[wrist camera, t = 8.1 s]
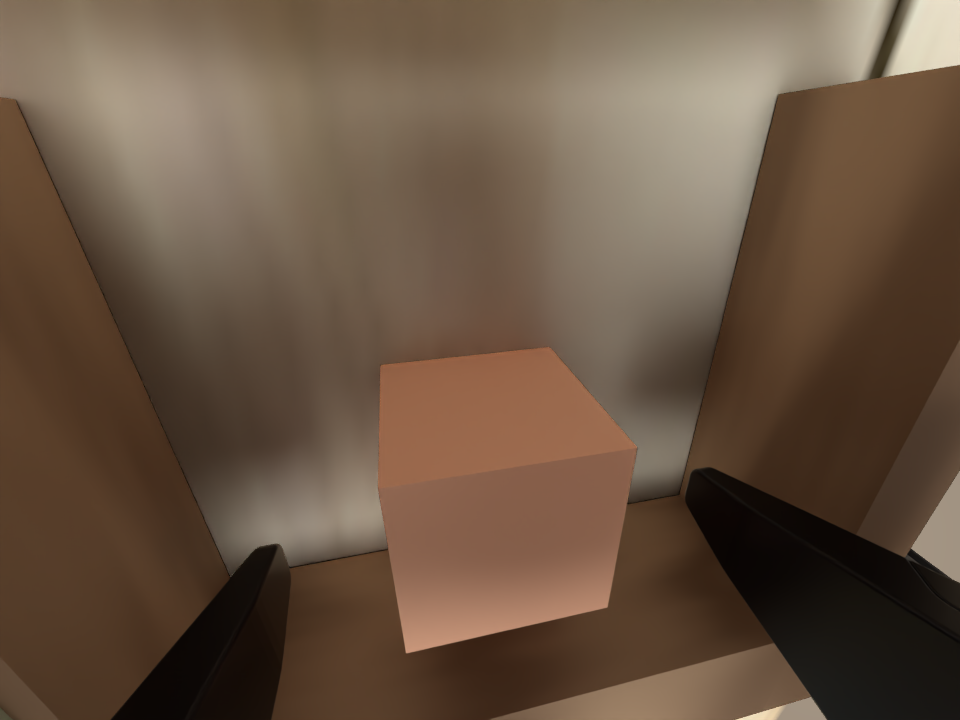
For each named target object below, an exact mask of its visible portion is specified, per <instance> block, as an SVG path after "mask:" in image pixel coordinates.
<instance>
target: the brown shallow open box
mask: <svg viewBox="0 0 960 720" xmlns="http://www.w3.org/2000/svg"><path fill="white" fill-rule="evenodd" d="M703 467H712V468H714V469H717V470H719V471H721V472H723V473H725V474H727V475H729V476H732V477H734V478H736V479H738V480H740V481H742V482H744V483H746V484H749V485H751V486H753V487H755V488H757V489H759V490H761V491H764V492H766V493H768V494H770V495H772V496H774V497H776V498H779V499H781V500H783V501H785V502H787V503H789V504H791V505H794V506H796V507H798V508H800V509H802V510H804V511H806V512H809V513H811V514H813V515H815V516H817V517H819V518H821V519H823V520H826V521H828V522H830V523H832V524H834V525H836V526H838V527H841V528H843V529H845V530H847V531H849V532H851V533H853V534H856V535H858V536H860V537H862V538H864V539H866V540H868V541H871V542H873V543H875V544H877V545H879V546H881V547H883V548H886V549H888V550H890V551H892V552H894V553H896V554H898V555H900V556H903V557H906V555H907V553H908V552H909V550H910V549H911V547H912V545H913V544H914V542H915V541H916V539H917V537H918V536H919V534H920V533H921V531H922V530H923V528H924V526H925V525H926V523H927V522H928V520H929V518H930V517H931V515H932V513H933V512H934V510H935V509H936V507H937V506H938V504H939V502H940V501H941V499H942V498H943V496H944V494H945V493H946V491H947V490H948V488H949V487H950V485H951V483H952V482H953V480H954V479H955V477H956V475H957V474H958V472H959V471H960V65H957V66H951V67H945V68H938V69H932V70H926V71H920V72H914V73H907V74H901V75H895V76H889V77H883V78H877V79H870V80H864V81H858V82H852V83H846V84H839V85H833V86H827V87H821V88H815V89H809V90H802V91H796V92H790V93H784V94H779V96H778V100H777V104H776V108H775V112H774V116H773V120H772V124H771V128H770V132H769V136H768V140H767V144H766V148H765V152H764V156H763V160H762V164H761V168H760V172H759V176H758V180H757V184H756V188H755V192H754V196H753V200H752V204H751V208H750V213H749V217H748V221H747V225H746V229H745V233H744V237H743V241H742V245H741V249H740V253H739V257H738V261H737V265H736V269H735V273H734V277H733V281H732V285H731V289H730V293H729V297H728V301H727V305H726V309H725V313H724V317H723V321H722V325H721V329H720V333H719V337H718V341H717V345H716V349H715V353H714V358H713V362H712V366H711V370H710V374H709V378H708V382H707V386H706V390H705V394H704V398H703V402H702V406H701V410H700V414H699V418H698V422H697V426H696V430H695V434H694V438H693V442H692V446H691V450H690V454H689V458H688V462H687V466H686V470H685V474H684V478H683V482H682V486H681V490H680V494H679V495H676V496H670V497H665V498H660V499H654V500H649V501H644V502H639V503H633V504H628V505H627V506H626V512H625V517H624V522H623V528H622V533H621V538H620V544H619V549H618V554H617V560H616V565H615V570H614V576H613V581H612V586H611V592H610V597H609V602H608V607H607V608H603V609H599V610H594V611H590V612H586V613H581V614H577V615H572V616H568V617H564V618H559V619H555V620H551V621H546V622H542V623H537V624H533V625H529V626H524V627H520V628H515V629H511V630H507V631H502V632H498V633H494V634H489V635H485V636H480V637H476V638H472V639H467V640H463V641H459V642H454V643H450V644H445V645H441V646H437V647H432V648H428V649H424V650H419V651H415V652H410V653H406V650H405V644H404V638H403V632H402V626H401V620H400V614H399V609H398V603H397V597H396V591H395V585H394V579H393V573H392V568H391V562H390V556H389V550H384V551H379V552H374V553H369V554H363V555H358V556H353V557H347V558H342V559H337V560H331V561H326V562H321V563H316V564H310V565H305V566H300V567H294V568H289V569H290V573H291V588H290V597H289V607H288V616H287V626H286V636H285V645H284V655H283V663H282V670H281V675H280V681H279V686H278V690H277V695H276V700H275V705H274V710H273V714H272V719H271V720H736V719H739V718H742V717H746V716H749V715H752V714H756V713H759V712H762V711H766V710H769V709H772V708H776V707H779V706H782V705H786V704H789V703H792V702H796V701H799V700H802V699H806V698H809V697H811V696H810V695H809V693H808V692H807V690H806V689H805V687H804V686H803V684H802V683H801V682H800V680H799V679H798V677H797V676H796V674H795V673H794V671H793V670H792V669H791V667H790V666H789V664H788V663H787V661H786V660H785V658H784V657H783V655H782V654H781V653H780V651H779V650H778V648H777V647H776V645H775V644H774V642H773V641H772V640H771V638H770V637H769V635H768V634H767V632H766V631H765V629H764V628H763V627H762V625H761V624H760V622H759V621H758V619H757V618H756V616H755V615H754V614H753V612H752V611H751V609H750V608H749V606H748V605H747V603H746V602H745V601H744V599H743V598H742V596H741V595H740V593H739V592H738V590H737V589H736V588H735V586H734V585H733V583H732V582H731V580H730V579H729V577H728V576H727V574H726V573H725V571H724V570H723V568H722V567H721V565H720V563H719V562H718V560H717V558H716V557H715V555H714V553H713V551H712V550H711V548H710V546H709V544H708V542H707V541H706V539H705V537H704V535H703V534H702V532H701V530H700V528H699V527H698V525H697V523H696V521H695V520H694V518H693V516H692V514H691V512H690V511H689V509H688V507H687V505H686V502H685V492H686V488H687V484H688V480H689V476H690V473H691V471H692V470H694V469H697V468H703ZM229 579H230V577H229V575H228V572H227V570H226V568H225V566H224V563H223V561H222V559H221V557H220V554H219V552H218V550H217V548H216V546H215V543H214V541H213V539H212V537H211V534H210V532H209V530H208V528H207V526H206V523H205V521H204V519H203V517H202V514H201V512H200V510H199V508H198V506H197V503H196V501H195V499H194V497H193V494H192V492H191V490H190V488H189V485H188V483H187V481H186V479H185V477H184V474H183V472H182V470H181V468H180V465H179V463H178V461H177V459H176V457H175V454H174V452H173V450H172V448H171V445H170V443H169V441H168V439H167V437H166V434H165V432H164V430H163V428H162V425H161V423H160V421H159V419H158V416H157V414H156V412H155V410H154V408H153V405H152V403H151V401H150V399H149V396H148V394H147V392H146V390H145V388H144V385H143V383H142V381H141V379H140V376H139V374H138V372H137V370H136V368H135V365H134V363H133V361H132V359H131V356H130V354H129V352H128V350H127V347H126V345H125V343H124V341H123V339H122V336H121V334H120V332H119V330H118V327H117V325H116V323H115V321H114V319H113V316H112V314H111V312H110V310H109V307H108V305H107V303H106V301H105V299H104V296H103V294H102V292H101V290H100V287H99V285H98V283H97V281H96V278H95V276H94V274H93V272H92V270H91V267H90V265H89V263H88V261H87V258H86V256H85V254H84V252H83V250H82V247H81V245H80V243H79V241H78V238H77V236H76V234H75V232H74V230H73V227H72V225H71V223H70V221H69V218H68V216H67V214H66V212H65V209H64V207H63V205H62V203H61V201H60V198H59V196H58V194H57V192H56V189H55V187H54V185H53V183H52V181H51V178H50V176H49V174H48V172H47V169H46V167H45V165H44V163H43V161H42V158H41V156H40V154H39V152H38V149H37V147H36V145H35V143H34V140H33V138H32V136H31V134H30V132H29V129H28V127H27V125H26V123H25V120H24V118H23V116H22V114H21V112H20V109H19V107H18V105H17V103H16V100H14V99H8V98H2V97H0V720H110V719H111V718H112V717H113V716H114V715H115V714H116V712H117V711H118V710H119V709H120V708H121V706H122V705H123V704H124V703H125V702H126V701H127V699H128V698H129V697H130V696H131V695H132V693H133V692H134V691H135V690H136V689H137V688H138V686H139V685H140V684H141V683H142V682H143V681H144V679H145V678H146V677H147V676H148V675H149V673H150V672H151V671H152V670H153V669H154V668H155V666H156V665H157V664H158V663H159V662H160V660H161V659H162V658H163V657H164V656H165V655H166V653H167V652H168V651H169V650H170V649H171V647H172V646H173V645H174V644H175V643H176V642H177V640H178V639H179V638H180V637H181V636H182V635H183V633H184V632H185V631H186V630H187V629H188V627H189V626H190V625H191V624H192V623H193V622H194V620H195V619H196V618H197V617H198V616H199V614H200V613H201V612H202V611H203V610H204V609H205V607H206V606H207V605H208V604H209V603H210V601H211V600H212V599H213V598H214V597H215V596H216V594H217V593H218V592H219V591H220V590H221V589H222V587H223V586H224V585H225V584H226V583H227V581H228V580H229Z"/></svg>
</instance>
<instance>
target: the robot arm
mask: <svg viewBox="0 0 960 720" xmlns="http://www.w3.org/2000/svg"><path fill="white" fill-rule="evenodd" d="M685 502H686V505H687V507H688V509H689V511H690V512H691V514H692V516H693V518H694V520H695V521H696V523H697V525H698V527H699V528H700V530H701V532H702V534H703V535H704V537H705V539H706V541H707V542H708V544H709V546H710V548H711V550H712V551H713V553H714V555H715V557H716V558H717V560H718V562H719V563H720V565H721V567H722V568H723V570H724V571H725V573H726V574H727V576H728V577H729V579H730V580H731V582H732V583H733V585H734V586H735V588H736V589H737V590H738V592H739V593H740V595H741V596H742V598H743V599H744V601H745V602H746V603H747V605H748V606H749V608H750V609H751V611H752V612H753V614H754V615H755V616H756V618H757V619H758V621H759V622H760V624H761V625H762V627H763V628H764V629H765V631H766V632H767V634H768V635H769V637H770V638H771V640H772V641H773V642H774V644H775V645H776V647H777V648H778V650H779V651H780V653H781V654H782V655H783V657H784V658H785V660H786V661H787V663H788V664H789V666H790V667H791V669H792V670H793V671H794V673H795V674H796V676H797V677H798V679H799V680H800V682H801V683H802V684H803V686H804V687H805V689H806V690H807V692H808V693H809V695H810V696H811V697H812V699H813V700H814V702H815V703H816V705H817V706H818V707H819V709H820V710H821V712H822V713H823V715H824V716H825V718H826V719H827V720H960V583H959V582H957V581H954V580H952V579H951V578H950V577H948V576H947V575H946V574H944V573H943V572H942V571H940V570H939V569H938V568H936V567H935V566H933V565H932V564H931V563H929V562H928V561H927V560H925V559H924V558H923V557H921V556H920V555H919V554H917V553H916V552H915V551H913V550H912V549H910V550H909V552H908V553H907V555H906V557H903V556H900V555H898V554H896V553H894V552H892V551H890V550H888V549H886V548H883V547H881V546H879V545H877V544H875V543H873V542H871V541H868V540H866V539H864V538H862V537H860V536H858V535H856V534H853V533H851V532H849V531H847V530H845V529H843V528H841V527H838V526H836V525H834V524H832V523H830V522H828V521H826V520H823V519H821V518H819V517H817V516H815V515H813V514H811V513H809V512H806V511H804V510H802V509H800V508H798V507H796V506H794V505H791V504H789V503H787V502H785V501H783V500H781V499H779V498H776V497H774V496H772V495H770V494H768V493H766V492H764V491H761V490H759V489H757V488H755V487H753V486H751V485H749V484H746V483H744V482H742V481H740V480H738V479H736V478H734V477H732V476H729V475H727V474H725V473H723V472H721V471H719V470H717V469H714V468H712V467H703V468H697V469H694V470H692V471H691V473H690V476H689V480H688V484H687V488H686V492H685ZM290 588H291V573H290V569H289V566H288V563H287V560H286V557H285V554H284V552H283V549H282V547H281V545H280V544H271V545H266V546H260V547H258V548H256V549H255V550H254V551H253V552H252V553H251V554H250V555H249V557H248V558H247V559H246V560H245V561H244V563H243V564H242V565H241V566H240V567H239V568H238V570H237V571H236V572H235V573H234V574H233V576H232V577H231V578H230V579H229V580H228V581H227V583H226V584H225V585H224V586H223V587H222V589H221V590H220V591H219V592H218V593H217V594H216V596H215V597H214V598H213V599H212V600H211V601H210V603H209V604H208V605H207V606H206V607H205V609H204V610H203V611H202V612H201V613H200V614H199V616H198V617H197V618H196V619H195V620H194V622H193V623H192V624H191V625H190V626H189V627H188V629H187V630H186V631H185V632H184V633H183V635H182V636H181V637H180V638H179V639H178V640H177V642H176V643H175V644H174V645H173V646H172V647H171V649H170V650H169V651H168V652H167V653H166V655H165V656H164V657H163V658H162V659H161V660H160V662H159V663H158V664H157V665H156V666H155V668H154V669H153V670H152V671H151V672H150V673H149V675H148V676H147V677H146V678H145V679H144V681H143V682H142V683H141V684H140V685H139V686H138V688H137V689H136V690H135V691H134V692H133V693H132V695H131V696H130V697H129V698H128V699H127V701H126V702H125V703H124V704H123V705H122V706H121V708H120V709H119V710H118V711H117V712H116V714H115V715H114V716H113V717H112V718H111V719H110V720H271V719H272V714H273V710H274V705H275V700H276V695H277V690H278V686H279V681H280V675H281V670H282V663H283V655H284V645H285V636H286V626H287V616H288V607H289V597H290Z"/></svg>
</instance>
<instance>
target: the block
mask: <svg viewBox="0 0 960 720" xmlns="http://www.w3.org/2000/svg"><path fill="white" fill-rule="evenodd" d="M636 453H637V447H636V445H635V444H634V443H633V442H632V441H631V440H630V439H629V437H628V436H627V435H626V434H625V433H624V432H623V431H622V429H621V428H620V427H619V426H618V425H617V424H616V422H615V421H614V420H613V419H612V418H611V417H610V416H609V414H608V413H607V412H606V411H605V410H604V409H603V408H602V406H601V405H600V404H599V403H598V402H597V401H596V399H595V398H594V397H593V396H592V395H591V394H590V393H589V391H588V390H587V389H586V388H585V387H584V386H583V385H582V383H581V382H580V381H579V380H578V379H577V378H576V376H575V375H574V374H573V373H572V372H571V371H570V370H569V368H568V367H567V366H566V365H565V364H564V363H563V362H562V360H561V359H560V358H559V357H558V356H557V355H556V353H555V352H554V351H553V350H552V349H551V348H550V347H544V348H535V349H525V350H516V351H506V352H497V353H488V354H478V355H469V356H460V357H450V358H441V359H431V360H422V361H413V362H403V363H394V364H385V365H380V414H379V466H378V491H379V497H380V503H381V509H382V515H383V521H384V527H385V532H386V538H387V544H388V550H389V556H390V562H391V568H392V573H393V579H394V585H395V591H396V597H397V603H398V609H399V614H400V620H401V626H402V632H403V638H404V644H405V650H406V653H410V652H415V651H419V650H424V649H428V648H432V647H437V646H441V645H445V644H450V643H454V642H459V641H463V640H467V639H472V638H476V637H480V636H485V635H489V634H494V633H498V632H502V631H507V630H511V629H515V628H520V627H524V626H529V625H533V624H537V623H542V622H546V621H551V620H555V619H559V618H564V617H568V616H572V615H577V614H581V613H586V612H590V611H594V610H599V609H603V608H607V607H608V602H609V597H610V592H611V586H612V581H613V576H614V570H615V565H616V560H617V554H618V549H619V544H620V538H621V533H622V528H623V522H624V517H625V512H626V506H627V501H628V496H629V490H630V485H631V480H632V474H633V469H634V464H635V458H636Z"/></svg>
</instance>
